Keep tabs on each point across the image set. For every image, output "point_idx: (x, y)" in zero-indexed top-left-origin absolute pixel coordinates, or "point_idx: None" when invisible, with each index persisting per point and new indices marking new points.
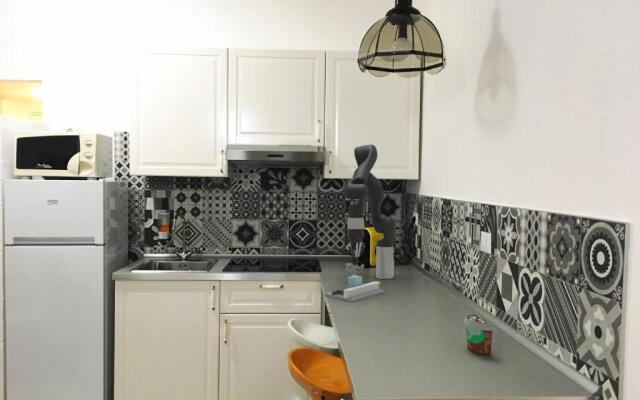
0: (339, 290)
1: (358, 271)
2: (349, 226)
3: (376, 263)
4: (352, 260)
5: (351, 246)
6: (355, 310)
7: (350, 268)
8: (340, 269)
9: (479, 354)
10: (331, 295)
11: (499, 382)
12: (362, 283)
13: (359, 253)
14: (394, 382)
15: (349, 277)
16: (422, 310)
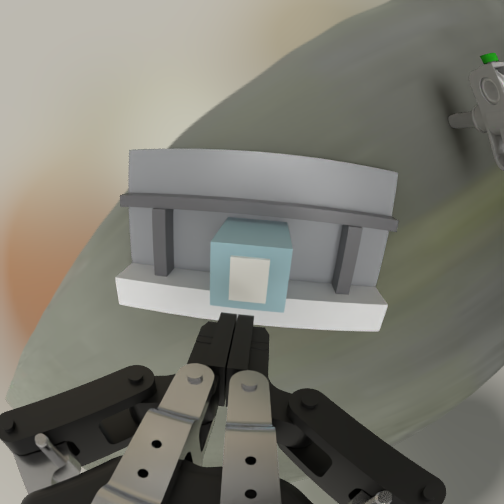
0: (153, 217)
1: (492, 146)
2: None
3: None
4: (194, 346)
5: (91, 486)
6: (92, 342)
7: (492, 93)
8: None
9: None
10: (129, 192)
11: (89, 468)
12: (389, 219)
13: (280, 439)
14: None
15: (211, 254)
16: (222, 445)
